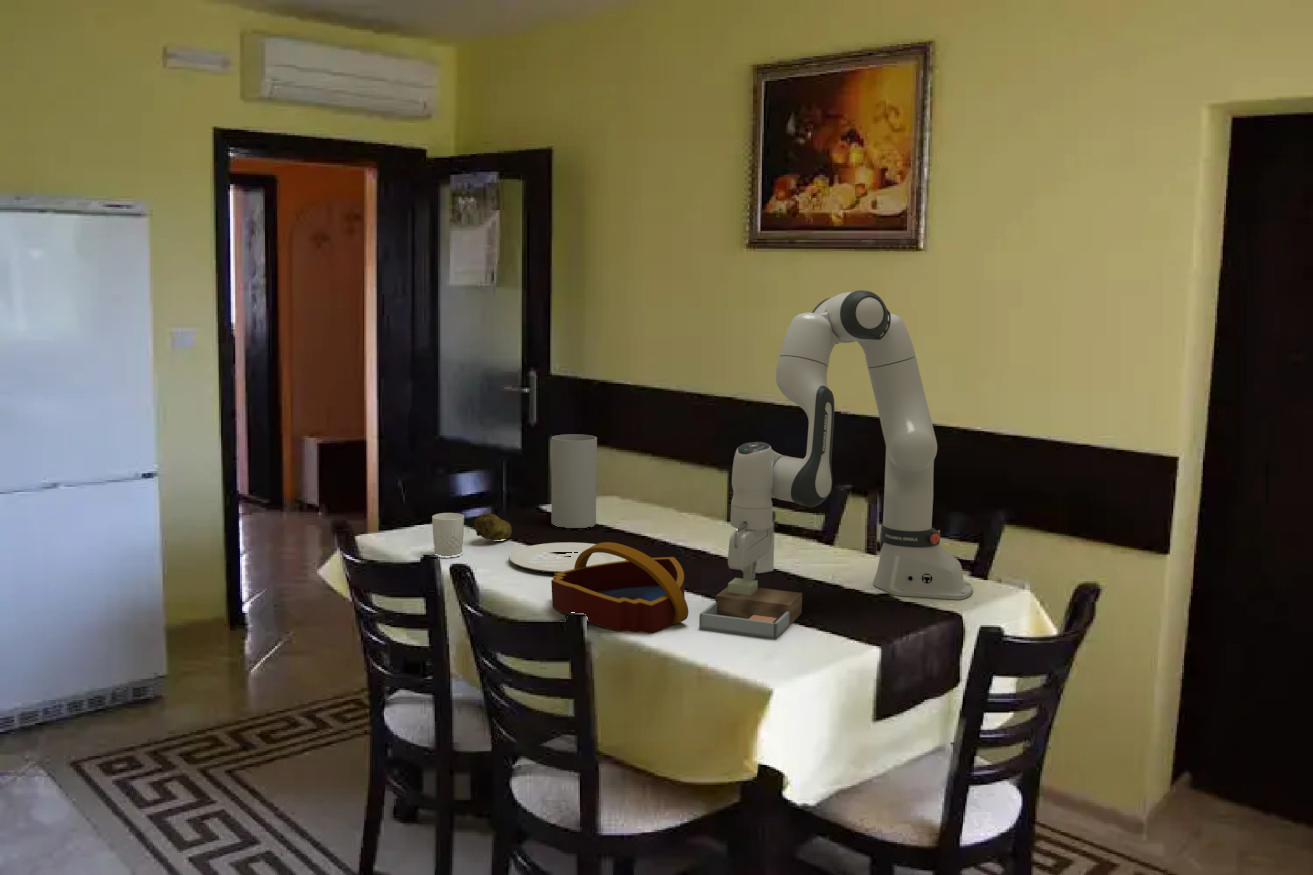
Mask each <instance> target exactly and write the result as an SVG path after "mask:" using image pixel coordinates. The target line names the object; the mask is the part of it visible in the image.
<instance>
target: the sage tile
mask: <svg viewBox="0 0 1313 875" xmlns="http://www.w3.org/2000/svg"><path fill="white" fill-rule="evenodd" d="M758 583H759V581H758V579H756V580H755V579H753V580H750V579H743V578H740V577H734V578H733V579H732V580H730V581H729V582H728V583H727V587H728V593H736V594H744V595H751V594H753V593H754V592H755V591H756V590H757V588H759V586H758V585H759V584H758Z"/></svg>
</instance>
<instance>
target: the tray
mask: <svg viewBox="0 0 1313 875" xmlns="http://www.w3.org/2000/svg"><path fill="white" fill-rule="evenodd" d="M698 620H699V621H698V622H699V623H698V625H699V626H698V629H699V630H702V631H711V632H716V633H717V632H718V633H725V634H733V635H740V636H747V637H753V638H762V639H767V640H775V641H777V640H778V639H779V638H780V637H781V636H782V635H783V633H785V631H787V630H788V628H789V627H790V626H789V612H786V613H785V614H783V615H782V616H781V617H780V618H779V619H778V620H777V621H776V622H775V623H772V622H764V621H756V620H749V619H747V618H739V617H732V616H724V615H717V602H716V601H714V602H713V603H712V604H710V605H709V606H707V607H706V608H705V609H704V610H703V611H701V612H700V613H699V619H698Z"/></svg>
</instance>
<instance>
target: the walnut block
mask: <svg viewBox="0 0 1313 875" xmlns="http://www.w3.org/2000/svg"><path fill="white" fill-rule="evenodd" d="M715 602H717V615H724V616H732V617H739V618H747V619H749V618H750V617H751V616H753V615H758V616H765V617H773V618H777V620H778V619H779V618H780V617H781V616H782V615H783V614H785V613H786V612H789V627H790V626H791V625H792V624H794V622H795V621H796V620H797V619H798V618H799V617H800V616H801V615H802V612H803V611H802V610H803V608H802V607H803V592H797V591H786V590H782V589H781V590H780V589H771V588H764V587H758V588H757V590H756V591H755V592H754V593H753V594H751V595H744V594H736V593H728V586H727V587H725V588H724V589H723V590H721V591H720V592H719V593H718V594H716V595H715Z"/></svg>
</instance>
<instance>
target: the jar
mask: <svg viewBox="0 0 1313 875" xmlns="http://www.w3.org/2000/svg"><path fill="white" fill-rule="evenodd" d="M774 558H775V521H774V522H773V536H772V544H771V548H770V551H769V552H767V553H766V554H764V555H763V556H762V557H760V558H759V559H758V564H757V567H756V571H755V574H764V573H771V572H773V571H774V565H775V564H774V561H775V559H774ZM740 571H741V572H743V571H742V570H740Z"/></svg>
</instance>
